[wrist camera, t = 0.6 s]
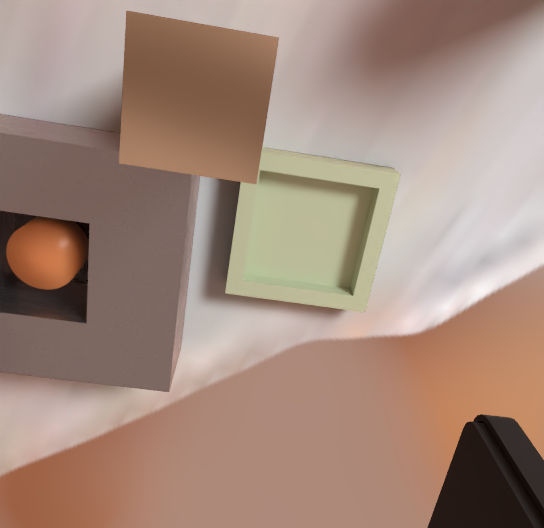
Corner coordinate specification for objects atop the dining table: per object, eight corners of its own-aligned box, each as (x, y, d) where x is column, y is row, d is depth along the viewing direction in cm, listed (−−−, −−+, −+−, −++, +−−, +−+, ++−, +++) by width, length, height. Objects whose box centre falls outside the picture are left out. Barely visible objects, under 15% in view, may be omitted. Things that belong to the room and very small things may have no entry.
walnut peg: (196, 33, 28) (126, 10, 13) (268, 46, 28) (278, 37, 14) (189, 108, 30) (118, 163, 15) (258, 119, 30) (256, 184, 15)
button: (20, 208, 30) (5, 219, 28) (90, 218, 30) (78, 229, 28) (22, 270, 32) (7, 284, 30) (88, 279, 32) (77, 293, 30)
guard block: (-79, 101, 29) (-143, 110, 24) (203, 146, 30) (192, 162, 26) (-59, 317, 34) (-109, 358, 30) (181, 348, 36) (169, 392, 31)
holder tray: (246, 144, 30) (245, 149, 29) (392, 167, 31) (400, 174, 29) (226, 281, 34) (225, 293, 32) (360, 299, 34) (365, 312, 33)
